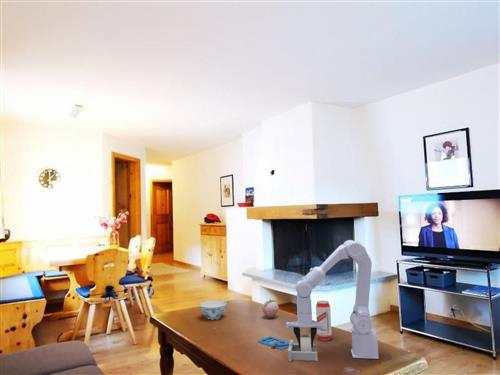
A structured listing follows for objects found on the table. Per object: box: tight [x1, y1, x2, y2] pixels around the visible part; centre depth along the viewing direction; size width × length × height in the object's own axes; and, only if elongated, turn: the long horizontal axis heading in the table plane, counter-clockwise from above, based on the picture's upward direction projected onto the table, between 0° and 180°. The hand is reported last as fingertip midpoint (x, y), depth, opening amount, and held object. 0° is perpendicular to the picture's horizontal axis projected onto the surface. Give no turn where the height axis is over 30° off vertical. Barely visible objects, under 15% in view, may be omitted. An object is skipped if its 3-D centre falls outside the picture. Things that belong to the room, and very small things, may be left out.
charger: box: [300, 333, 311, 352], centre depth 142 cm, size 4×4×6 cm
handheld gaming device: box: [257, 335, 290, 351], centre depth 156 cm, size 8×1×15 cm
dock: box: [287, 339, 318, 363], centre depth 141 cm, size 11×12×4 cm
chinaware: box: [199, 300, 228, 321], centre depth 198 cm, size 15×15×8 cm
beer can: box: [315, 300, 333, 342], centre depth 160 cm, size 6×6×16 cm
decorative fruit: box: [261, 299, 280, 319], centre depth 195 cm, size 9×8×10 cm
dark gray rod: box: [270, 342, 297, 349], centre depth 152 cm, size 10×1×1 cm, turn 100°
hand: (306, 347), depth 142 cm, fingers closed on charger, 4 cm apart
